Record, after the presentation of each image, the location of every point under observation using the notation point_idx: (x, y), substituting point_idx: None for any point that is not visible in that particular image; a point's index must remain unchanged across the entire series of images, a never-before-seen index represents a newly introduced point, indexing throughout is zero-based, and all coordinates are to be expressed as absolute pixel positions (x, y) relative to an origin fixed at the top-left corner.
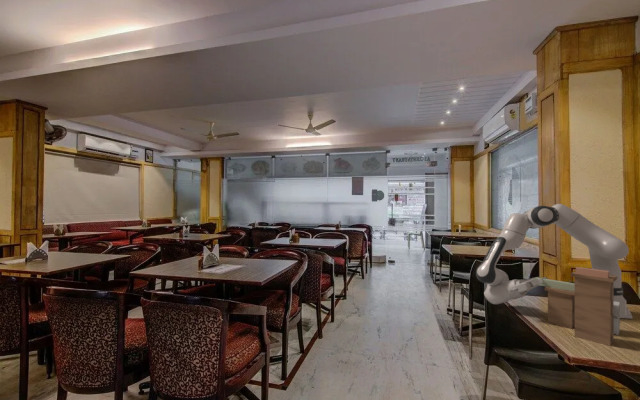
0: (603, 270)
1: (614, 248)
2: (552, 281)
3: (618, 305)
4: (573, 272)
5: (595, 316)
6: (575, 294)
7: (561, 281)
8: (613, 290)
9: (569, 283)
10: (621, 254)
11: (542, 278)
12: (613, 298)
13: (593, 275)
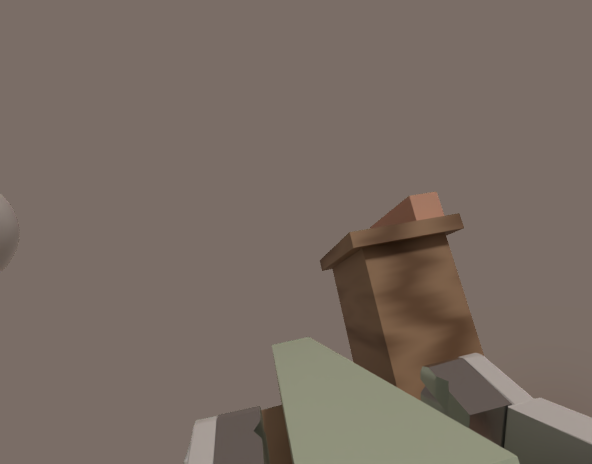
0: (376, 223)
1: (12, 220)
2: (361, 369)
3: (267, 408)
4: (422, 220)
5: None
6: (473, 327)
7: (283, 369)
8: (342, 309)
9: (310, 351)
10: (13, 255)
11: (308, 431)
12: (349, 340)
13: None
